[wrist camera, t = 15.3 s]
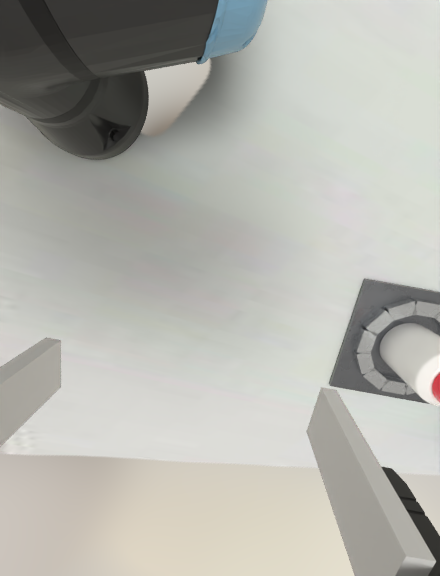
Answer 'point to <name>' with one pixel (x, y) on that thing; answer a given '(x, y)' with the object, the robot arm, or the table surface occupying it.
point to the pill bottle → (414, 358)
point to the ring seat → (381, 336)
